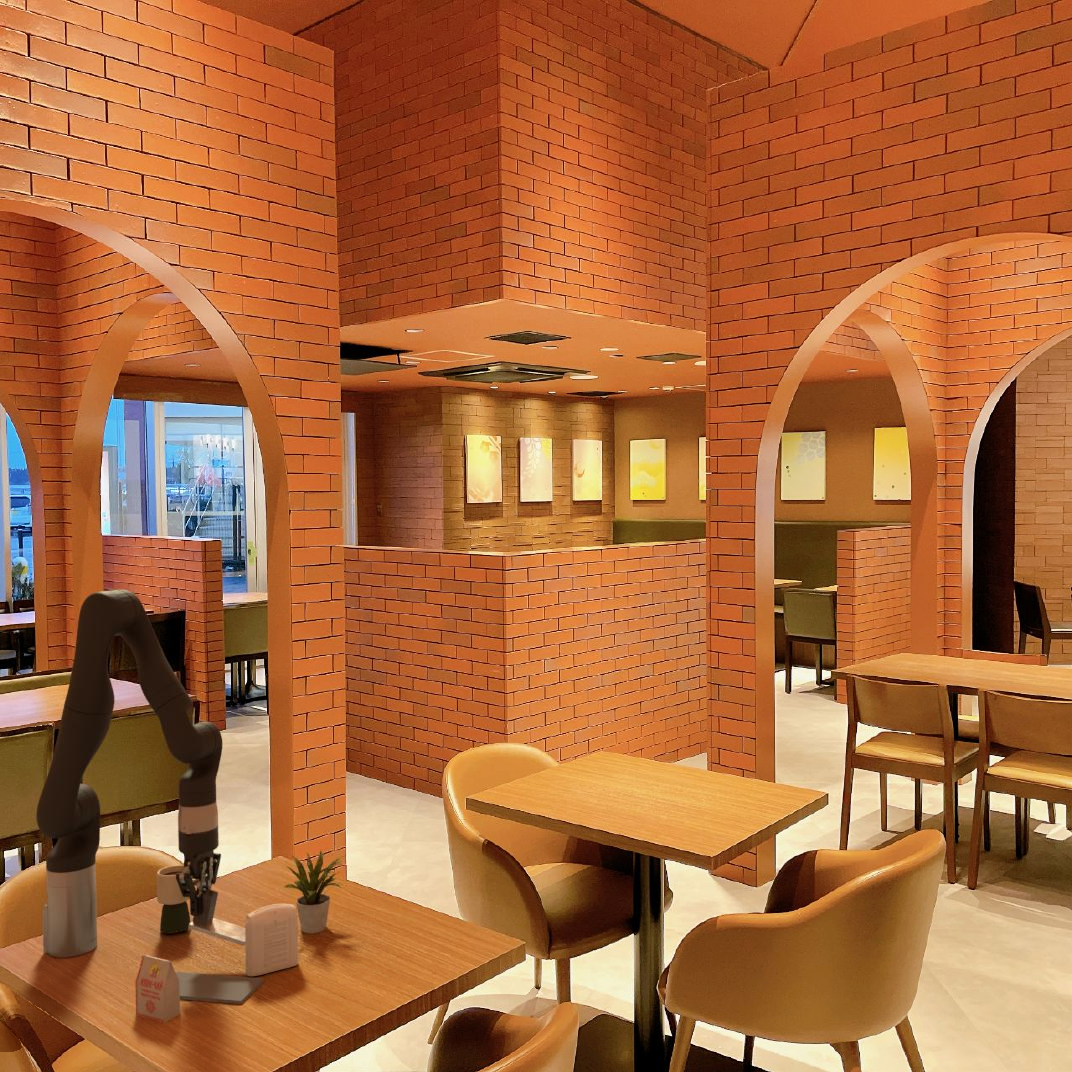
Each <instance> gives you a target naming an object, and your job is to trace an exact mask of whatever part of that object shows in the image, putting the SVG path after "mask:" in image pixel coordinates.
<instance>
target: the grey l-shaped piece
mask: <svg viewBox="0 0 1072 1072" xmlns="http://www.w3.org/2000/svg"><path fill="white" fill-rule="evenodd" d="M218 895H219V892H218V891H216V890H212V889H211V890H209V889H206V888H204V889H202V895H201V896H202V914H201V915H200V916H192V921H190V922H191V923H190V924H189V927H188V928H189V930H193V931H196V932H199V933H203V934H206V935H209V936H212V937H214V938H218V939H222V940H224V941H227V942H230V943H234V944H237V945H240V946H243V947H244V946H245V927H243V926H240V925H238V924H235V923H231V922H228V921H225V920H222V919H218V918H214V915H215V911H216V906H217V905H216V904H217V901H218Z"/></svg>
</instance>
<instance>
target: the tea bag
mask: <svg viewBox="0 0 1072 1072" xmlns="http://www.w3.org/2000/svg"><path fill="white" fill-rule="evenodd" d="M180 1000H181V999H180V987H179V979H178V977H177V975H176V971H175V968H174V966H173V961H171V960H168V959H163V958H159V957H155V956H152V955H147V954H142V955H141V961H140V965H139V969H138V972H137V975H136V978H135V1016H138V1015H139V1016H138V1017H142V1016H143V1017H142V1018H145V1017H146V1018H147V1019H149V1020H153V1021H156V1022H159V1021H161V1022H160V1023H163V1022H164V1023H166V1022H167V1021H168V1022H169V1020H171V1019H173V1018H174V1017H176V1016H178V1015H180V1014H181V1001H180ZM165 1021H166V1022H165Z"/></svg>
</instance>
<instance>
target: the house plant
mask: <svg viewBox="0 0 1072 1072" xmlns="http://www.w3.org/2000/svg"><path fill="white" fill-rule="evenodd" d="M306 855H307V860H308V864H306V867H307V868H308V870H309V871H308V872H306V870H305V867H304V865H303V863H302V862H301V861H300V860H299V859H298V858H297V857H295V856H294V855H291V857H292V860H293V861H294V863H295V865H296V868H297V870H298V872H296V871H295V870H294V869H293V868H291V867H290V866H285V867H286V868H287V869H288V870H290V872H291V873H292V874H294V875H295V877H296V878H297V879H298V880H295V881H294V884H292V883H290V884H286V885H285V886H283V887H282V889H283V888H284V889H285V888H286V889H287V888H288V889H296V890H299V891H300V892H301V893H302V896H299V897H298V898H296V900H295V902H296V907H297V908H296V910H297V915H298V918H299V919H298V920H299V925H300V929H301V932H303V933H305V934H317V933H320V932H323V931H325V930H326V929H327V922H328V917H329V915H328V914H329V909H330V902H331V900H330V899H331V897H330V896H329V895H328V894H326V893H327V891H329V890H330V889H331V888H332V887H331V886H335V887H339V888H340V889H342V887H341V886H340V884H339V883H336V882H333V881H335V880H336V878H334V877H335V876H336V875H338V874H339V872H333V871H331V870H332V869H333V868H334V867H336V866H341V865H342V861H340V860H341V859H343V858H345V857H346V855H344V856H340V857H338V858H336V859H335V860H333V861H332V862H331V863H330V864H329V865H328V866H327V867H325V868H323V869H322V867H323V865H324V856H325V852H322V850H320V852H319V854H318V858H317V860H316V862H315V865H313V862H312V860H311V857H310V855H309V853H308V852H306ZM307 874H308V875H307ZM329 874H332V875H329ZM308 878H309V879H308ZM328 886H330V888H329V889H328V890H326V891H325V892H324V889H325V888H326V887H328ZM323 892H324V893H323ZM324 929H325V930H324Z"/></svg>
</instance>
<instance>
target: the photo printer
mask: <svg viewBox="0 0 1072 1072" xmlns="http://www.w3.org/2000/svg"><path fill="white" fill-rule="evenodd" d="M296 907H297V906H295V905H294V904H291V903H273V904H269V905H265V906H263V907H259V908H257V909H256V910H255V909H254V910H253V911H251V912H250V913H248V914H246V917H245V925H244V926H245V927H244V928H245V945H244V946H245V974H246V976H248V977H250V978H253V977H257V976H261V975H265V974H269V973H273V972H276V971H280V970H284V969H289V968H291V967H295V966H297V965H298V964H299V962H298V961H299V952H298V951H299V946H298V945H299V944H298V943H299V941H298V940H299V938H298V934H299V933H298V924H299V923H298V922H299V921H298V920H299V919H298V918H299V915H298V909H297V908H296Z"/></svg>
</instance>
